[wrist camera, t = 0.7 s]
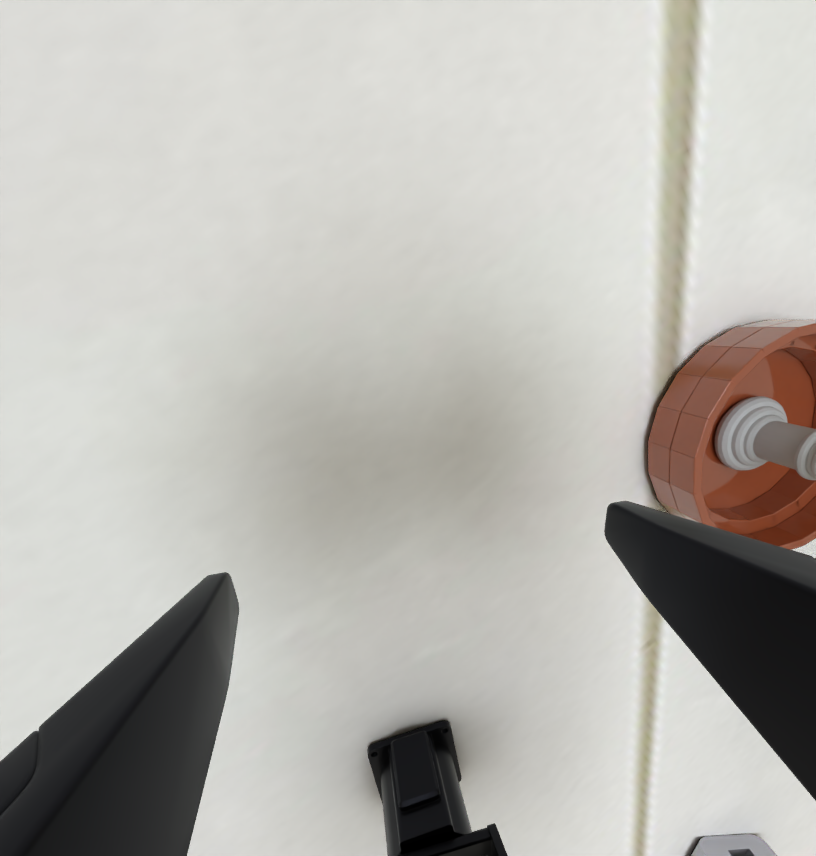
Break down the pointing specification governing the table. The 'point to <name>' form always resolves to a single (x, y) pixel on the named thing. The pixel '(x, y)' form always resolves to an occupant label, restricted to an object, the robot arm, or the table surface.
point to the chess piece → (764, 438)
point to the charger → (733, 846)
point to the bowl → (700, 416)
